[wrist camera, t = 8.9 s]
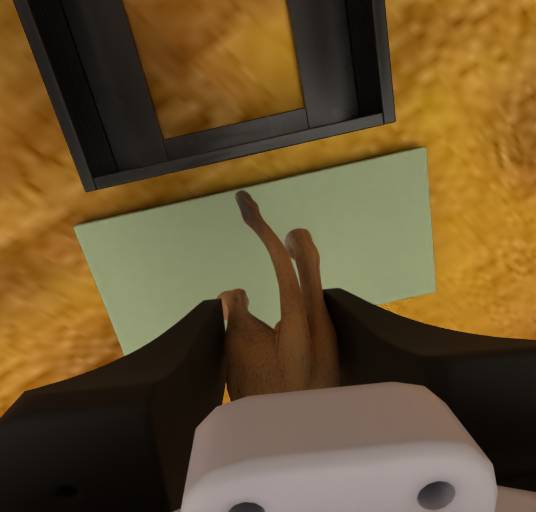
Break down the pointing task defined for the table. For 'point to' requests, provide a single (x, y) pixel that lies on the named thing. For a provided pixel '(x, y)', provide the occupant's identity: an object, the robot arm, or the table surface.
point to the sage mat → (254, 251)
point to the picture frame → (213, 140)
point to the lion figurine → (281, 321)
